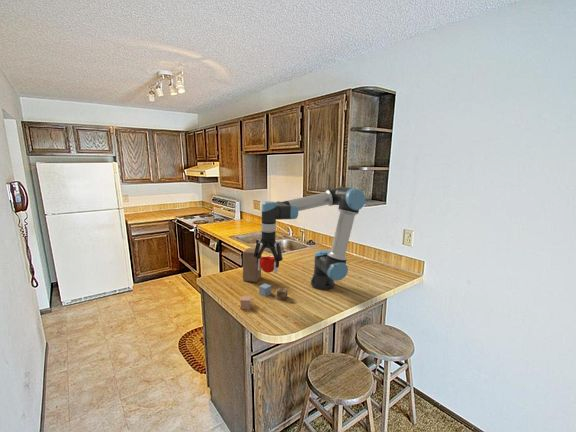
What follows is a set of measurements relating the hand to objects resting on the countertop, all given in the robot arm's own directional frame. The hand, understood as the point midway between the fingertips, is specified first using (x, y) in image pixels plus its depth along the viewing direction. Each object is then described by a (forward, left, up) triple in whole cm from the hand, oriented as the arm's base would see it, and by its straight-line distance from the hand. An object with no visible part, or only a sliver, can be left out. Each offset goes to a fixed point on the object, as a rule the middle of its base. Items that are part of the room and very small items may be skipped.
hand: (267, 271), depth 149 cm
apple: (0, 0, 0) cm, 0 cm away
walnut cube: (-5, -9, -19) cm, 21 cm away
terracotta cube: (+8, +9, -19) cm, 22 cm away
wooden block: (+24, -24, -19) cm, 39 cm away
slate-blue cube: (+6, -9, -19) cm, 21 cm away
